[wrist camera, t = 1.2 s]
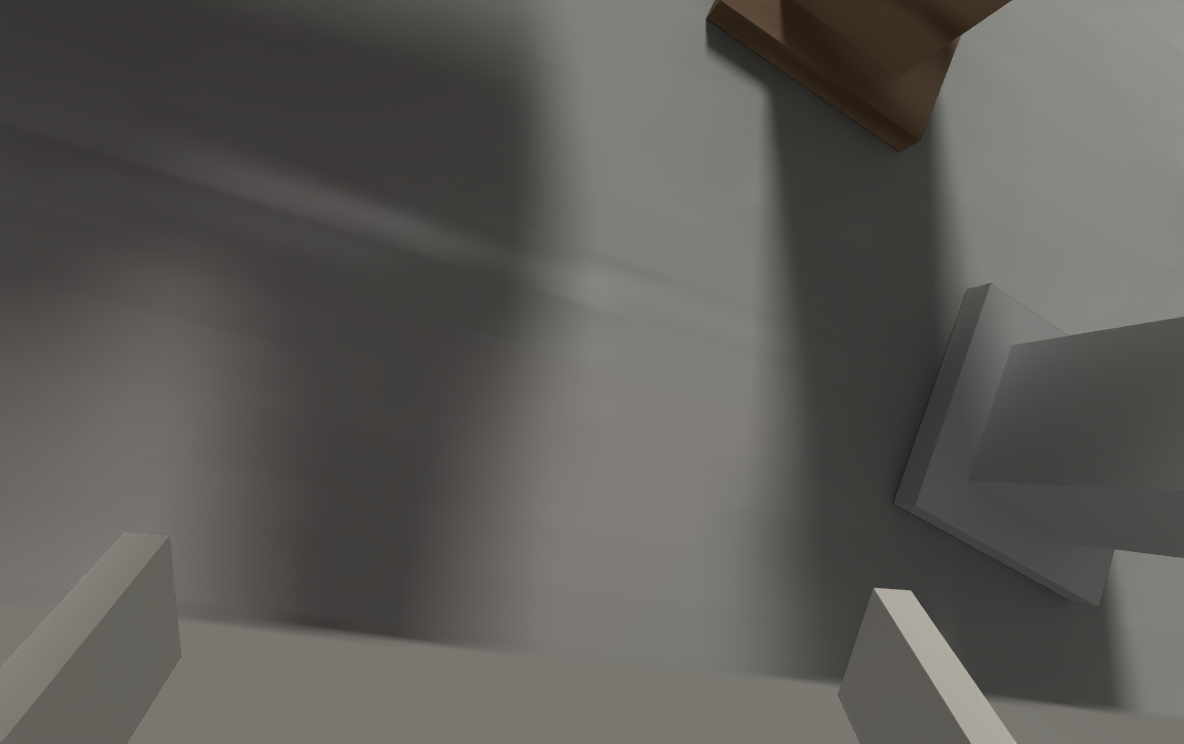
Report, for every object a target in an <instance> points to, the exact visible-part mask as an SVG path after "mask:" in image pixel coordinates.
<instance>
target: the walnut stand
mask: <svg viewBox="0 0 1184 744" xmlns="http://www.w3.org/2000/svg"><path fill="white" fill-rule="evenodd" d="M1010 1H1011V0H715V1H714V3H713V5H712V7H711V9H710V11H709V13H708V16H707V18H706V19H708V20H709V21H711V22H712V23H714V24H715V25H717V26H718V27H719V28H721V29H722V30H724V31H725V32H727V33H728V34H730V35H731V36H732V37H734V38H735V39H737V40H738V41H740V42H741V43H743V44H744V45H746V46H747V47H748V48H750V49H751V50H753V51H754V52H756V53H757V54H759V55H760V56H761V57H763V58H764V59H766V60H767V61H769V62H770V63H772V64H773V65H774V66H776V67H777V68H779V69H780V70H782V71H783V72H785V73H786V74H787V75H789V76H790V77H792V78H793V79H795V80H796V81H798V82H799V83H801V84H802V85H803V86H805V87H806V88H808V89H809V90H811V91H812V92H814V93H815V94H816V95H818V96H819V97H821V98H822V99H824V100H825V101H827V102H828V103H829V104H831V105H832V106H834V107H835V108H837V109H838V110H840V111H841V112H842V113H844V114H845V115H847V116H848V117H850V118H851V119H853V120H854V121H855V122H857V123H858V124H860V125H861V126H863V127H864V128H866V129H867V130H869V131H870V132H871V133H873V134H874V135H876V136H877V137H879V138H880V139H882V140H883V141H884V142H886V143H887V144H889V145H890V146H892V147H893V148H895V149H896V150H897V151H899V152H900V151H902V150H904V149H906V148H908V147H909V146H911V145H913V144H915V143H917V142H918V141H920V140H921V138H922V135H923V133H924V130H925V127H926V125H927V122H928V120H929V117H930V114H931V112H932V109H933V107H934V104H935V101H936V99H937V96H938V94H939V91H940V88H941V86H942V83H943V81H944V78H945V75H946V73H947V70H948V68H949V65H950V62H951V60H952V57H953V55H954V52H955V49H956V47H957V44H958V42H959V39H960V36H961V35H962V34H963V33H965V32H966V31H968V30H969V29H971V28H972V27H974V26H975V25H976V24H978V23H979V22H981V21H982V20H984V19H985V18H987V17H988V16H990V15H991V14H992V13H994V12H995V11H997V10H998V9H1000V8H1001V7H1003V6H1004V5H1006V4H1007V3H1008V2H1010Z"/></svg>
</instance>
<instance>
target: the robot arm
mask: <svg viewBox="0 0 1184 744" xmlns="http://www.w3.org/2000/svg"><path fill="white" fill-rule="evenodd" d="M180 658H181V648H180V638H179V628H178V617H177V607H176V597H175V586H174V576H173V566H172V555H171V545H170V535H156V534H143V533H129V532H124V533H123V534H122V535H121V536H120V537H119V538H118V539H117V540H116V542H115V543H114V544H113V545H112V546H111V547H110V548H109V549H108V550H107V551H106V552H105V554H104V555H103V556H102V557H101V558H100V559H99V560H98V561H97V562H96V563H95V564H94V566H93V567H92V568H91V569H90V570H89V571H88V572H87V573H86V574H85V575H84V577H83V578H82V579H81V580H80V581H79V582H78V583H77V584H76V585H75V586H74V587H73V589H72V590H71V591H70V592H69V593H68V594H67V595H66V596H65V597H64V598H63V599H62V601H61V602H60V603H59V604H58V605H57V606H56V607H55V608H54V609H53V610H52V611H51V613H50V614H49V615H48V616H47V617H46V618H45V619H44V620H43V621H42V622H41V624H40V625H39V626H38V627H37V628H36V629H35V630H34V631H33V632H32V633H31V634H30V636H29V637H28V638H27V639H26V640H25V641H24V642H23V643H22V644H21V645H20V646H19V647H18V649H17V650H16V651H15V652H14V653H13V654H12V655H11V656H10V657H9V658H8V659H7V661H6V662H5V663H4V664H3V665H2V666H1V667H0V744H127V742H128V741H129V739H130V738H131V736H132V734H133V733H134V731H135V730H136V728H137V726H138V725H139V723H140V722H141V720H142V718H143V717H144V715H145V713H146V712H147V710H148V709H149V707H150V705H151V704H152V702H153V701H154V699H155V698H156V696H157V694H158V693H159V691H160V690H161V688H162V686H163V685H164V683H165V681H166V680H167V678H168V677H169V675H170V674H171V672H172V670H173V669H174V667H175V666H176V664H177V662H178V661H179V659H180ZM838 696H839V698H840V700H841V703H842V705H843V707H844V709H845V711H846V714H847V716H848V718H849V720H850V722H851V724H852V727H853V729H854V731H855V733H856V735H857V737H858V740H859V742H860V744H1017V743H1016V741H1015V740H1014V739H1013V737H1012V736H1011V734H1010V733H1009V731H1008V730H1007V728H1006V727H1005V726H1004V724H1003V723H1002V721H1001V720H1000V719H999V717H998V716H997V714H996V713H995V711H994V710H993V708H992V707H991V705H990V704H989V703H988V701H987V700H986V698H985V697H984V695H983V694H982V692H981V691H980V690H979V688H978V687H977V685H976V684H975V682H974V681H973V679H972V678H971V677H970V675H969V674H968V672H967V671H966V669H965V668H964V667H963V665H962V664H961V662H960V661H959V659H958V658H957V656H956V655H955V654H954V652H953V651H952V649H951V648H950V646H949V645H948V643H947V642H946V641H945V639H944V638H943V636H942V635H941V633H940V632H939V630H938V629H937V628H936V626H935V625H934V623H933V622H932V620H931V619H930V618H929V616H928V615H927V613H926V612H925V610H924V609H923V607H922V606H921V605H920V603H919V602H918V600H917V599H916V597H915V596H914V594H913V593H912V592H911V591H910V590H896V589H883V588H873V591H872V594H871V597H870V600H869V603H868V606H867V609H866V612H865V615H864V618H863V621H862V624H861V627H860V630H859V633H858V636H857V639H856V642H855V645H854V648H853V651H852V654H851V657H850V660H849V663H848V666H847V669H846V672H845V675H844V678H843V681H842V684H841V687H840V690H839V693H838Z"/></svg>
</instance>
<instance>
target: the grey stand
mask: <svg viewBox="0 0 1184 744" xmlns="http://www.w3.org/2000/svg"><path fill="white" fill-rule="evenodd" d="M894 504H895V505H897V506H899V507H901V508H903V509H904V510H906V511H908V512H910V513H912V514H914V515H915V516H917V517H919V518H921V519H923V520H924V521H926V522H928V523H930V524H932V525H934V526H935V527H937V528H939V529H941V530H943V531H944V532H946V533H948V534H950V535H952V536H954V537H955V538H957V539H959V540H961V541H963V542H964V543H966V544H968V545H970V546H972V547H974V548H975V549H977V550H979V551H981V552H983V553H984V554H986V555H988V556H990V557H992V558H994V559H995V560H997V561H999V562H1001V563H1003V564H1004V565H1006V566H1008V567H1010V568H1012V569H1014V570H1015V571H1017V572H1019V573H1021V574H1023V575H1025V576H1026V577H1028V578H1030V579H1032V580H1034V581H1035V582H1037V583H1039V584H1041V585H1043V586H1045V587H1046V588H1048V589H1050V590H1052V591H1054V592H1055V593H1057V594H1059V595H1061V596H1063V597H1065V598H1066V599H1068V600H1070V601H1072V602H1077V603H1082V604H1087V605H1092V606H1096V607H1099V604H1100V601H1101V597H1102V593H1103V590H1104V586H1105V582H1106V578H1107V575H1108V571H1109V567H1110V563H1111V560H1112V556H1113V552H1114V549H1117V550H1125V551H1133V552H1141V553H1149V554H1157V555H1164V556H1172V557H1180V558H1184V317H1180V318H1174V319H1168V320H1162V321H1156V322H1150V323H1144V324H1137V325H1131V326H1125V327H1119V328H1113V329H1107V330H1101V331H1095V332H1089V333H1083V334H1077V335H1069V334H1067V333H1066V332H1064V331H1063V330H1061V329H1060V328H1058V327H1057V326H1055V325H1054V324H1052V323H1051V322H1049V321H1048V320H1046V319H1044V318H1043V317H1041V316H1040V315H1038V314H1037V313H1035V312H1034V311H1032V310H1031V309H1029V308H1028V307H1026V306H1025V305H1023V304H1022V303H1020V302H1019V301H1017V300H1016V299H1014V298H1013V297H1011V296H1010V295H1008V294H1007V293H1005V292H1004V291H1002V290H1001V289H999V288H998V287H996V286H995V285H993V284H992V283H989V284H985V285H981V286H978V287H974V288H970V289H967V292H966V295H965V298H964V301H963V304H962V307H961V309H960V312H959V315H958V318H957V321H956V324H955V327H954V330H953V333H952V335H951V338H950V341H949V344H948V347H947V350H946V353H945V356H944V358H943V361H942V364H941V367H940V370H939V373H938V376H937V379H936V382H935V384H934V387H933V390H932V393H931V396H930V399H929V402H928V405H927V407H926V410H925V413H924V416H923V419H922V422H921V425H920V428H919V430H918V433H917V436H916V439H915V442H914V445H913V448H912V451H911V454H910V456H909V459H908V462H907V465H906V468H905V471H904V474H903V477H902V479H901V482H900V485H899V488H898V491H897V494H896V497H895V500H894Z"/></svg>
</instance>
